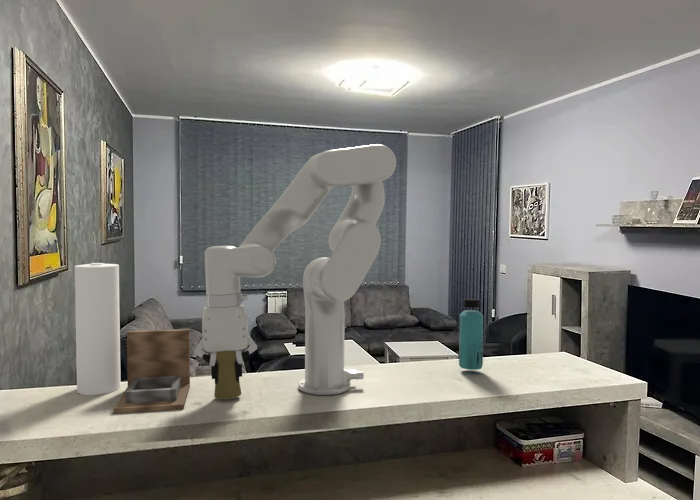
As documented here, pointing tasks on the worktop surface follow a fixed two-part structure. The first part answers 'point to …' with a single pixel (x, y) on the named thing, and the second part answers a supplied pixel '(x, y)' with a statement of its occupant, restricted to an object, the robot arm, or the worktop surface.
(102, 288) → the cylinder container
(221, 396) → the cork
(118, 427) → the worktop surface
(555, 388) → the worktop surface
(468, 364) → the beverage bottle
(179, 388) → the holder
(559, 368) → the worktop surface
